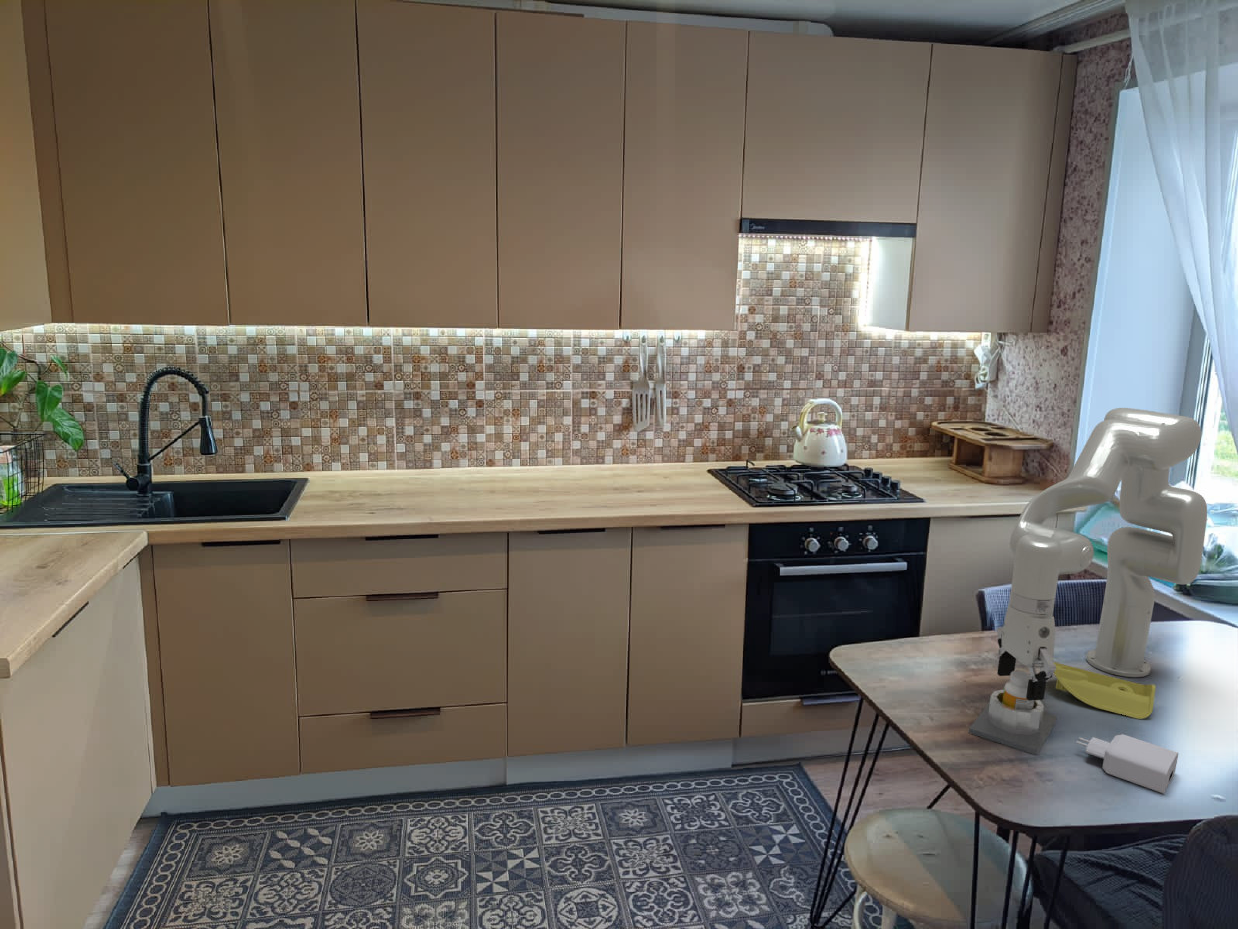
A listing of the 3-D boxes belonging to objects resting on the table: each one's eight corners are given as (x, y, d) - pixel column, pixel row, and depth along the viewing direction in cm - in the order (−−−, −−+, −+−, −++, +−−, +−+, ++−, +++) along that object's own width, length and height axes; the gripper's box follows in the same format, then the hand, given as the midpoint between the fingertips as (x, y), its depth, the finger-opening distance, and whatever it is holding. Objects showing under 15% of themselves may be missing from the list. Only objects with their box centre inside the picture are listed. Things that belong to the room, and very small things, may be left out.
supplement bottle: (996, 713, 175) (1003, 667, 172) (1025, 715, 174) (1033, 670, 172) (1003, 727, 170) (1010, 680, 167) (1034, 730, 169) (1041, 683, 167)
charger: (1082, 743, 168) (1174, 774, 158) (1067, 762, 161) (1163, 796, 151) (1086, 719, 167) (1179, 750, 157) (1071, 738, 160) (1167, 771, 150)
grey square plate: (992, 702, 182) (995, 676, 181) (1056, 721, 175) (1060, 695, 174) (968, 733, 169) (972, 706, 168) (1036, 755, 162) (1040, 727, 161)
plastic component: (1146, 686, 186) (1157, 684, 177) (1140, 721, 185) (1150, 722, 176) (1042, 659, 194) (1048, 657, 184) (1036, 693, 192) (1041, 692, 183)
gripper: (1079, 620, 159) (1066, 708, 162) (1023, 584, 175) (1012, 666, 179) (1040, 621, 157) (1027, 710, 161) (987, 585, 174) (977, 667, 178)
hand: (1019, 687), depth 170 cm, fingers open, 9 cm apart
